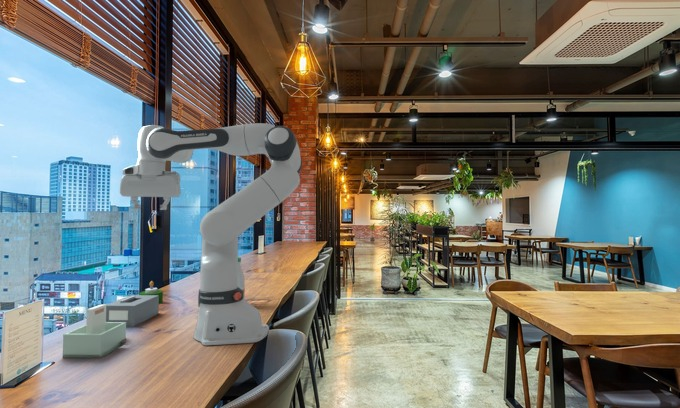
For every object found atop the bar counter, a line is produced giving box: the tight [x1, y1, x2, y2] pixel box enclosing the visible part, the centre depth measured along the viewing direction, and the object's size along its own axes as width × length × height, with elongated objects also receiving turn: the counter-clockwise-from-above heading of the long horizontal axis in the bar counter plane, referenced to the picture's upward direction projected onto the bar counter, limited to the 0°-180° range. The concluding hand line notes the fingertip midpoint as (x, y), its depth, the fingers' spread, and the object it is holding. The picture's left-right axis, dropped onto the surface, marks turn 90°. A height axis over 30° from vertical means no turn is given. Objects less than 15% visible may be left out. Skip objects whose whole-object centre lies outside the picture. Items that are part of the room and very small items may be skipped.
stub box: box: [62, 322, 127, 359], centre depth 92 cm, size 10×10×6 cm
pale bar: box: [85, 303, 107, 334], centre depth 92 cm, size 2×5×11 cm, turn 178°
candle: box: [139, 280, 164, 305], centre depth 138 cm, size 8×8×10 cm
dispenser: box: [106, 294, 160, 328], centre depth 114 cm, size 10×14×9 cm
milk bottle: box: [238, 256, 246, 300], centre depth 135 cm, size 8×8×20 cm
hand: (150, 209), depth 120 cm, fingers open, 8 cm apart
